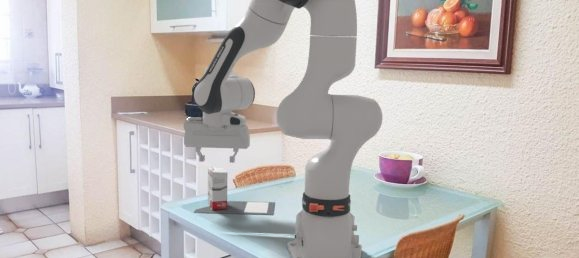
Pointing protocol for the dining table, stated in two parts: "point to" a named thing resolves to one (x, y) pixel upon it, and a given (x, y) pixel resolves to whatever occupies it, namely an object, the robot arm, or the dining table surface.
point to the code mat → (242, 208)
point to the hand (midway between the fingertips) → (217, 161)
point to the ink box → (217, 188)
